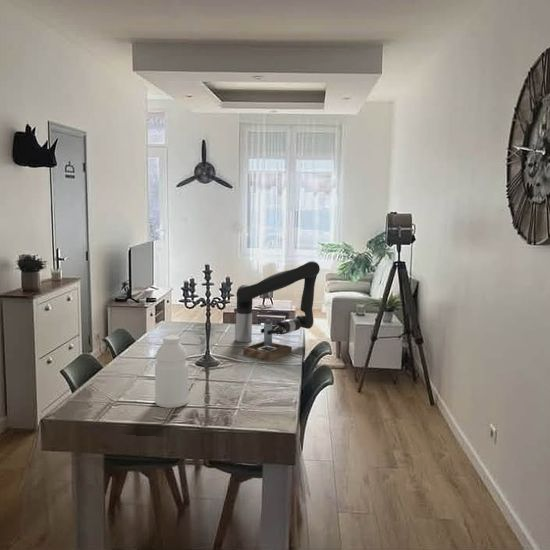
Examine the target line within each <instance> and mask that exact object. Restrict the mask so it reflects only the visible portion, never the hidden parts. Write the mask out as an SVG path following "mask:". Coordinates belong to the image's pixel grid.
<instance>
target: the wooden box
mask: <svg viewBox="0 0 550 550" xmlns="http://www.w3.org/2000/svg"><path fill="white" fill-rule="evenodd" d="M292 347H293V346H290V345H286V344H281V343H277V342H273V341H272V345H271V346H265V345H264V340H263V341H260V342H256V343H253V344H250V345H246V346H244V347H242V349H243V350H242V351H243V352H242V355H245V356H248V357H252V358H256V359H260V360H264V361H268V362H271V361H276V360H278V359H281V358H284V357H286V356H289V355H292V353H293V351H292V350H293V348H292Z"/></svg>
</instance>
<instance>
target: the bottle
mask: <svg viewBox="0 0 550 550" xmlns="http://www.w3.org/2000/svg"><path fill="white" fill-rule="evenodd" d="M180 341H181V339H180V337H179V336H178V335H172V334H171V335H165V336H164V337H163V338H162V342H163V343H162V344H161V345H160V346H159V347H158V349H157V351H156V353H155V356H154V357H155V358H154V359H156V360H157V361H156V363H154V382H155V383H154V388H155V389H154V395H155V396H154V402H155V405H156V406H158V407H161V408H166V409H172V408H173V409H174V408H179V407H183V406H185V405H186V404H188V402H189V398H190V396H189V365H190V364H189V362H188V361H187V360H186V359H187V358H188V357H189V356H188V352H187V350H186V348H185V346H183V344H182V343H180Z"/></svg>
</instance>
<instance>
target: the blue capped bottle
mask: <svg viewBox="0 0 550 550" xmlns="http://www.w3.org/2000/svg"><path fill="white" fill-rule="evenodd" d="M263 324H264V325H263V329H264V333H263V341H264V345H265V346H271V345H272V342H273V334H270V335H268V334H267V331H269V330H272V326H273V323H272V320H271V319H269V318H268V319H265V322H264V323H263Z"/></svg>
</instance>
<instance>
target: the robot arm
mask: <svg viewBox="0 0 550 550" xmlns="http://www.w3.org/2000/svg"><path fill="white" fill-rule="evenodd" d="M320 271H321V267H320V265H319V264H318V262H316V261H315V260H310V261H307V262H305V263H303V264H301V265H299V266H297V267H295V268H291V269H288V270H284V271H279V272H277V273H274V274H272V275H270V276H268V277H266V278H264V279H262V280H260V281H259V282H257V283H253V284H251V285H248V284H242V285H240V286H239V287H238V288H237V290H236V315H235V316H236V317H235V318H236V319H235V320H236V324H235V325H234V340H235V341H236V342H239V343H250V342H252V338H253V337H252V335H253V333H252V332H253V299H255V298H257V297H260V296H262V295H266V294H269V293H272V292H275V291H278V290H281V289H285V288H287V287H289V286H290V285H292V284H295V283H296V282H298V281H302V280H304V283H303V291H302V294H301V301H300V307H299V308H300V311H301V312H303V313H304V315H302V314H300V315H297V316H295V317H294V318H290V319H283V320H281V321H278V322H276V324H272V330H269V331H267V334H268V335H270V334H272V335H277V336H278V335H287V334H289V333H292V332H294V331H297V330H300V329H301V328H304V329H308V330H309V329H311V328H312V327H313V325H314V313H313V312H314V311H313V307H314V298H315V297H314V296H315V286H316V280H317V277H318V274H319V273H320ZM260 333H261V334H264V328H261V329H260Z"/></svg>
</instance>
